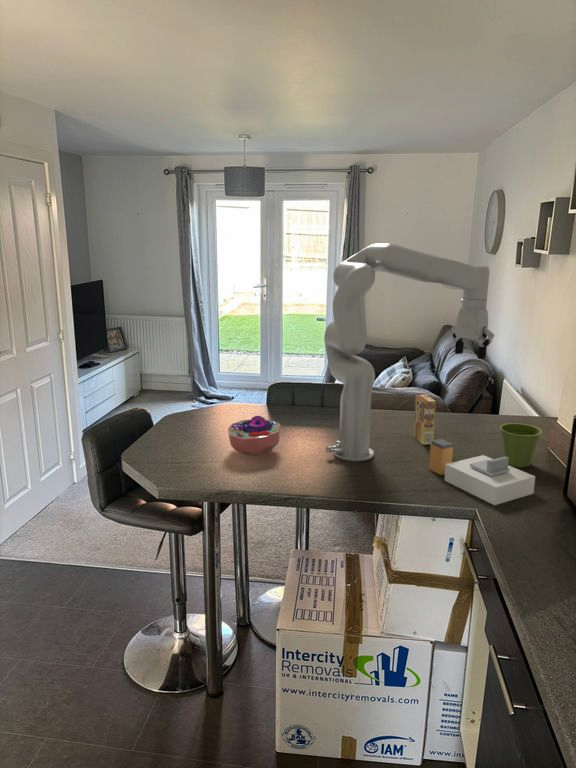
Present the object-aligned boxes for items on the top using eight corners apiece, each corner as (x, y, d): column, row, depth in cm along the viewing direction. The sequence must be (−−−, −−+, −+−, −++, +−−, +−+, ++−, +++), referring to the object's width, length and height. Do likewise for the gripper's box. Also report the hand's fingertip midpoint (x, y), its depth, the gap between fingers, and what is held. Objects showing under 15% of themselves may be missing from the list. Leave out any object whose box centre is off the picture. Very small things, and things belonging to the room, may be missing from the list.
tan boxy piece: (440, 475, 165) (443, 446, 163) (429, 469, 169) (431, 440, 167) (451, 472, 167) (453, 443, 165) (439, 466, 171) (441, 438, 169)
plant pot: (491, 456, 180) (494, 422, 177) (529, 457, 179) (532, 423, 177) (504, 470, 168) (507, 435, 165) (544, 471, 168) (548, 435, 165)
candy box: (433, 444, 190) (436, 400, 186) (421, 445, 190) (424, 401, 186) (424, 436, 199) (426, 394, 195) (412, 436, 198) (415, 394, 194)
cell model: (215, 458, 177) (214, 423, 174) (247, 439, 195) (246, 407, 192) (263, 467, 170) (263, 431, 167) (291, 446, 188) (291, 414, 185)
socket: (494, 505, 146) (496, 487, 144) (444, 480, 161) (445, 464, 160) (533, 493, 153) (535, 476, 151) (481, 470, 168) (483, 455, 167)
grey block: (491, 476, 151) (493, 462, 150) (469, 466, 157) (470, 453, 156) (509, 471, 154) (510, 458, 153) (487, 462, 160) (488, 449, 160)
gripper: (446, 302, 189) (442, 352, 193) (487, 307, 175) (482, 361, 179) (462, 301, 193) (458, 350, 197) (504, 306, 178) (498, 359, 182)
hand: (469, 355), depth 188 cm, fingers open, 9 cm apart
